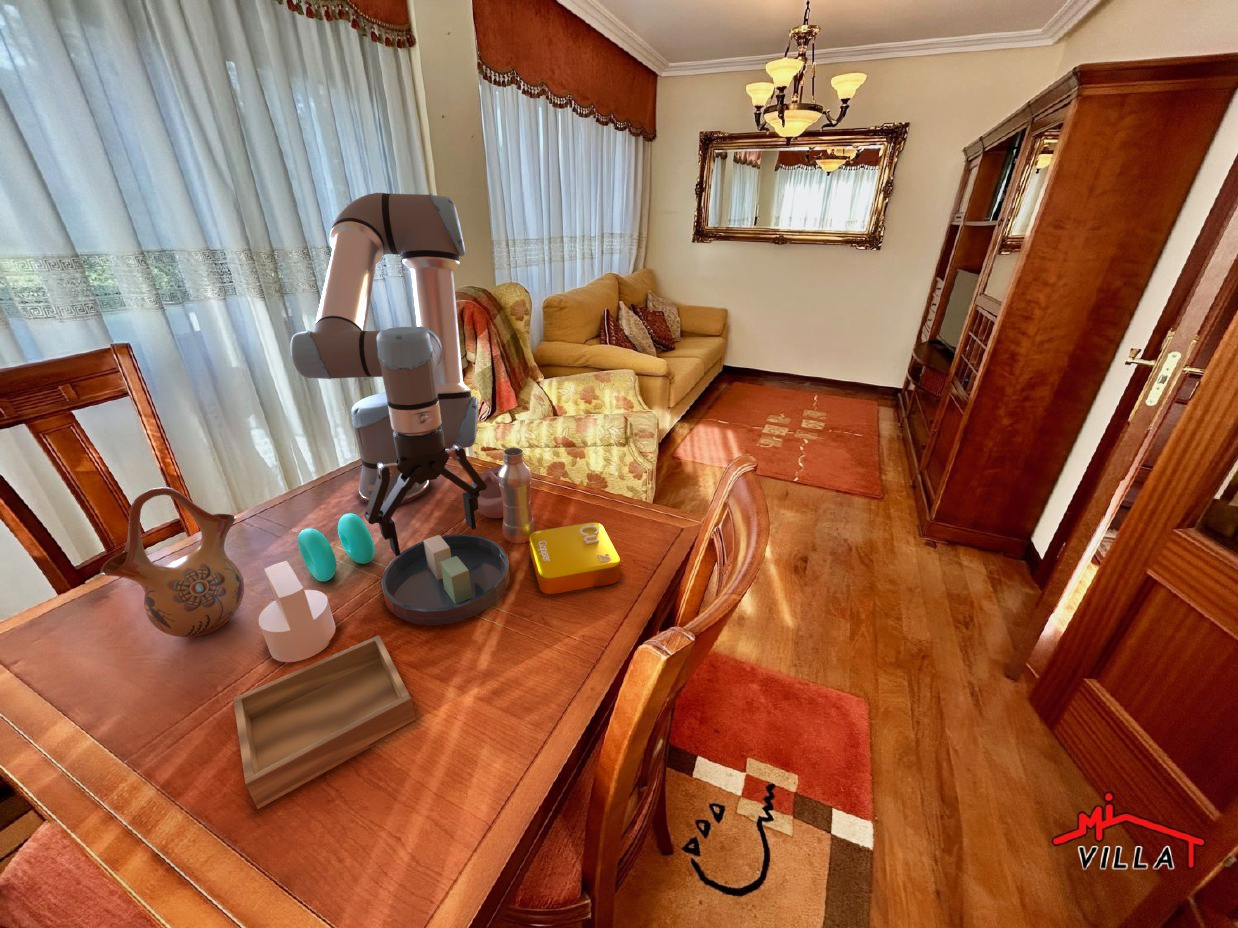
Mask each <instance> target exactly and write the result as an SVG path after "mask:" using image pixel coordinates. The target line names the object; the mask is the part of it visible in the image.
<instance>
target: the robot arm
mask: <svg viewBox="0 0 1238 928" xmlns="http://www.w3.org/2000/svg"><path fill="white" fill-rule="evenodd" d="M329 245H330V248H331V249H332V250H331V256H330V259H329V264H328V268H327V271H326V275H325V282H324V285H323V289H322V294H321V298H320V301H319V302H320V303H319V305H318V306H319V307H318V311H317V315H316V321H315V324H314V327H313V331H312V330H308V329H307V330H306V331H299V332H296V333H295V334H293V335H292V337H291V340H290V356H291V360H292V363H293V365H294V367H295V369H296V371H297V373H298V374H299V375H301V377H304V378H306V379H318V380H319V379H322V380H325V379H326V380H334V379H352V378H353V379H354V378H382V381H383V386H384V391H385V392H380V393H376V394H372V395H369V396H367V397H365V398H362V399H360V400H358V401H357V402H356V403H354V405H352V407H351V411H350V413H351V419H352V429H353V430H354V435H355V439H356V444H357V449H358V452H359V456H360V461H361V472H360V479H359V485H358V493H359V497H360V500H361V501H362V502H363V503H365V504H367V505H366V508H365V511H364V518H365V520H366V521H367V523H368V524H369V525H375V524H378V525H379V529H380V534H381V536H382V538H383V539H384V540H386V541H387V540H388V541H389V546H390V549H391V551H392V552H393V554H394V555H395V557H397V556H399V555H401V554H400V553H401V549H400V543H399V540H398V533H397V530H396V529H397V528H396V523H395V520H393V518H392V517H393V515H394V514H395V512H396V511H397V509H398V508H399V507H400V505H404V504H408V503H410V502H413V501H416V500H418V499H419V498H421V497H423V496H424V495H425V494H426V493H427V492H428V490H429V488H430V481H434V480H437V479H438V477H440V476H443V477H444V478H446V479H447V480H449V481H450V482H451V483H453V484H454V485H456V486H457V487H459V488H460V489H462V490H463V491H464V492H462V501H463V508H464V516H465V524H466V525H467V527H469V528H470V530H476V529H477V522H476V515H475V511H477V510H478V497H479V496H480V493H479V492H480V491H481V490H485V489H486V488H487V486H486V484H485V483H484V481H483V480H482V479H481V477H480V476H479V475H480V474H479V473H478V471H476V469H475V468H474V467H473V465H472V464H471V462H470V460H468V458H467V454H466V450H465V448H466V449H467V448H470V447H473V446H474V445H475V444H476V441H477V434H478V422H479V421H478V420H479V398H478V397H475V396H472V390H471V388H469V386H468V385H466V384H465V383H464V375H463V366H462V365H463V364H462V355H461V345H460V343H461V342H460V334H459V333H460V332H459V321H458V310H457V301H456V290H455V289H456V288H455V279H454V278H455V277H454V272H455V271H456V270H457V269H458V268H459V266H460V257H464V256H466V246H465V242H464V237H463V232H462V228H461V223H460V219H459V214H458V210H457V206H456V204H455V202H454V200H453V199H452V198H451V197H449V196H446V195H435V194H432V193H428V194H420V193H419V194H417V193H416V194H415V193H409V194H408V193H386V192H373V193H368V194H365V195H362V196H360V197H358V198H356V199H355V200H353V201H352V202H350V203H349V204H347V205H346V206H345V207H344V208H343V209H342V210H341V212H340V213H339V214H338V215H337V216H336V218H335V220H334V221H333V222H332V225H331V228H330V231H329ZM384 255H398V256H399V255H401V258H402V264H403V265H404V266H405V267H406V268H408V269H409V271H410V273H411V281H412V290H413V291H412V292H413V301H414V309H415V317H416V325H414V326H400V327H399V326H397V327H396V326H395V327H390V328H386V329H382V330H366V327H367V321H368V316H369V309H370V303H371V297H372V291H373V283H374V279H375V273H376V265H377V264H379V262H381V260H382V259H383V256H384ZM450 458H451V459H452V460H453V461H457V462H458V464H459V465H460V466H461V468H462V469H463V471H464V472H465V473H466V474H467V475H468V477H469V478H470V480H471V481H472V483H473V482H474V484H473V485H472V484H470V483H468V482H467V481H465V479H463V478H461V477H460V476H458V475H457V473H455V472H454V471H452V470H450V469H449V468H447V467H446V465H447V463H448V461H449V460H450Z"/></svg>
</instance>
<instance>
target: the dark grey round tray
mask: <svg viewBox="0 0 1238 928" xmlns="http://www.w3.org/2000/svg"><path fill="white" fill-rule="evenodd" d="M440 536H441V537H442V539H443V540H444V541H445V542H446V543H447V545H448V546H449V547H450V552H451V558H452V557H455V556H457V557H458V558H459V559H460V560H461V562H462V563H463V564H464V565H465V566H466V568H467V569H468V570H469V577H470V585H471V593H472V598H470V599H468V600H465V601H463V602H461V603H459V604H455V603H454V602H453V600H452V599H451V598H450V596H449V595H448V593H447V592H446V591H445V589H444V584H443V578H442V579H439V580H437V578H436V577H435V575H434V574H433V573H432V571H431V570H430V569H429V567H428V564H427V559H426V553H425V547H424V541H423V540H422V541H419V542H417V543H416V544H413V545H411V546H410V547H408V548H406V549H403V550H402V552H401V551H400V554H401V555H399V556H395V557H394V558H393V559H392V560H391V561H390V562H389V564H388V565H387V566H386V567H385V569H384V570H383V573H382V577H381V581H380V585H381V589H382V593H383V598H384V601H385V605H386V607H387V609H388V610H389V611H390V612H391V613H392V614H393V615H394V616H395V617H397V618H398V619H400V620H403V621H404V622H407V623H410V624H414V625H422V626H441V625H442V626H443V625H448V624H454V623H458V622H461V621H464V620H467V619H470V618H472V617H474V616H476V615H479V614H481V613H483V612H484V611H486V610H487V609H489V608H490V607H491V606H493V605H495V603H496V602H498V600H499V599H500V598H501V597H502V596H503V595H504V593H505V592H506V590H507V588H508V586H509V583H510V579H511V574H510V573H511V572H510V563H509V555H508V554H507V552H506V551H505V548H504V547H503V546H502V545H500V544H499V543H498V542H496V541H494V540H493V539H489V538H488V537H484V536H482V535H475V534H468V533H455V534H446V535H440Z"/></svg>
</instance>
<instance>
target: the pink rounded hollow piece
mask: <svg viewBox="0 0 1238 928" xmlns="http://www.w3.org/2000/svg"><path fill="white" fill-rule="evenodd" d="M502 466H503V464H501V465H495V466H493V467H490V468H487V469H486V470H485V471H483V472H482V473H480V474H478V475H479V476H480V477H481V479H482V480H483V481H484V483H485V484H486V486H487V488H486V489H485V490H481V491H480V492H479V493H480V496H479V497H478V510H476V512H477V513H479V514H480V515H482V516H484V517H487V518H490V519H503V501H502V494H501V490H500V487H499V483H498V478H497V476H498V472H499V470H500V468H501V467H502ZM473 484H474V482H473V481H472V484H471V485H473Z"/></svg>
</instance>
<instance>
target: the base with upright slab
mask: <svg viewBox="0 0 1238 928" xmlns="http://www.w3.org/2000/svg"><path fill="white" fill-rule="evenodd" d="M263 571H264V573H265V576H266V579H267V582H268V585H269V587H270V589H271V593H272V595H273V598H274V600H273V601H271V602H270V603H268V605H267V606H266V607H264V609H262V611H261V612H260V614H259V617H258V620H257V621H258V626H259V628H260V631H261V634H262V636H263V639H264V641H265V643H266V646H267V649H268V652H269V654H270V656H271V657H272V658H273V659H274V660H276V661H278V662H281V663H282V662H283V663H295V662H299V661H304V660H306V659H309V658H312V657H313V656H315V655H317V654H319V653H321V652H323V650H325V649H326V648H327V647H328V646H329V645H330V644H331V641H330V640H332V638H333V637H334V635H335V633H336V628H337V626H336V623H335V620H334V617H333V613H332V610H331V607H330V603H329V599H328V597H327V595H326V594H325V593H324V592H323V591H319V590H316V589H304V587H303V585H302V583H301V582H300V579H299V578H298V576H297V575H296V573H295V572H294V570H293V567H291V565H290V563H289V562H288V560H284V561H280V562H277V563H274V564H272V565H269V566H267V567H265V568H264V569H263Z"/></svg>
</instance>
